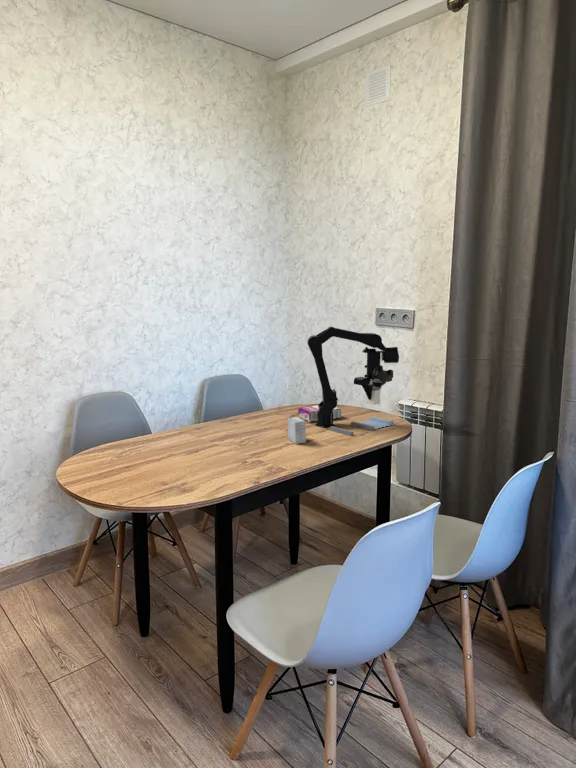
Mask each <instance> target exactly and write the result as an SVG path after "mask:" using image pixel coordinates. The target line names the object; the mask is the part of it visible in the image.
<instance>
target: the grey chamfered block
mask: <svg viewBox="0 0 576 768" xmlns="http://www.w3.org/2000/svg"><path fill="white" fill-rule="evenodd" d="M365 404H369V405H373V406H374V405H378V404H379V405H380V404H381V389H380V387H374V386H373V388H372V397H371V400H369V399H368V397H367V395H366V394H365Z"/></svg>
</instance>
